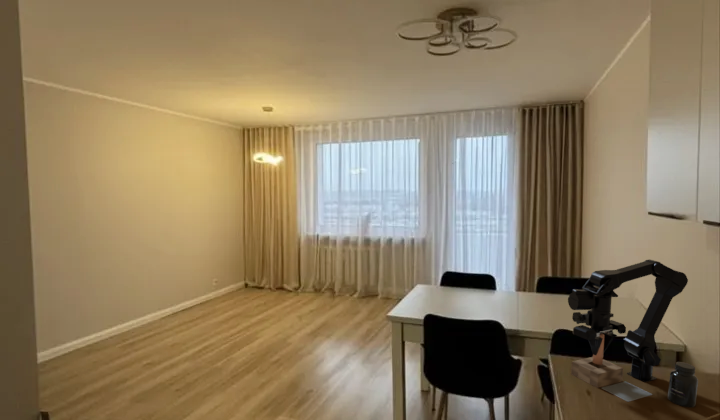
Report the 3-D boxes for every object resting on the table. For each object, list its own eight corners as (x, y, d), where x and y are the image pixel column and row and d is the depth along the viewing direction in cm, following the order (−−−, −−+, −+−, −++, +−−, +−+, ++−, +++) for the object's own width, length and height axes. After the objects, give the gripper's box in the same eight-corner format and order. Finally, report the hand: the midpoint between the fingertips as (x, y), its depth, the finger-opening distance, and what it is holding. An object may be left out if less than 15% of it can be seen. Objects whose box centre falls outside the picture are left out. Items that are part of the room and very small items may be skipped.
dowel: (596, 360, 145) (598, 331, 144) (604, 363, 142) (606, 335, 142) (590, 361, 144) (592, 333, 143) (598, 365, 141) (600, 336, 140)
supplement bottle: (669, 404, 128) (673, 366, 127) (665, 394, 134) (668, 358, 133) (698, 411, 125) (701, 372, 124) (692, 400, 131) (696, 363, 130)
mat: (625, 382, 141) (625, 381, 141) (653, 395, 133) (653, 394, 133) (600, 389, 137) (600, 387, 137) (627, 402, 129) (627, 401, 128)
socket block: (595, 369, 151) (596, 356, 150) (622, 382, 142) (623, 368, 141) (570, 375, 146) (571, 361, 146) (597, 388, 137) (598, 374, 136)
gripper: (598, 299, 153) (595, 341, 154) (560, 305, 145) (558, 349, 147) (628, 308, 143) (625, 353, 144) (589, 315, 135) (586, 362, 137)
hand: (598, 354), depth 143 cm, fingers closed on dowel, 3 cm apart
